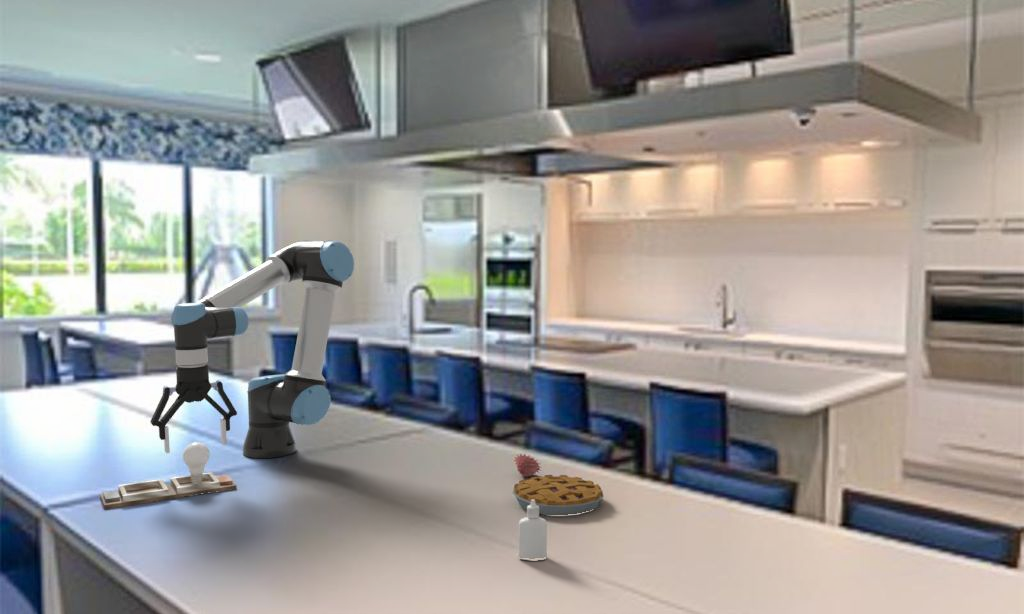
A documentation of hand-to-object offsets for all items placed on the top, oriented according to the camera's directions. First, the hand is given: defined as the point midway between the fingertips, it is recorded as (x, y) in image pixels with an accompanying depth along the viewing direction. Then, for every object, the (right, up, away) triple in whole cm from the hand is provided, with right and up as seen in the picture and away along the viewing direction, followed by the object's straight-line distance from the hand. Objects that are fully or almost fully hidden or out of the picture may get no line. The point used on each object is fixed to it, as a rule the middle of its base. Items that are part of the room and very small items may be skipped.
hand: (196, 447), depth 200 cm
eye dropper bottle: (+84, -15, -42) cm, 95 cm away
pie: (+91, -13, -8) cm, 92 cm away
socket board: (-5, -11, -3) cm, 13 cm away
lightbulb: (0, -10, +1) cm, 10 cm away
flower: (+84, -11, +15) cm, 86 cm away
